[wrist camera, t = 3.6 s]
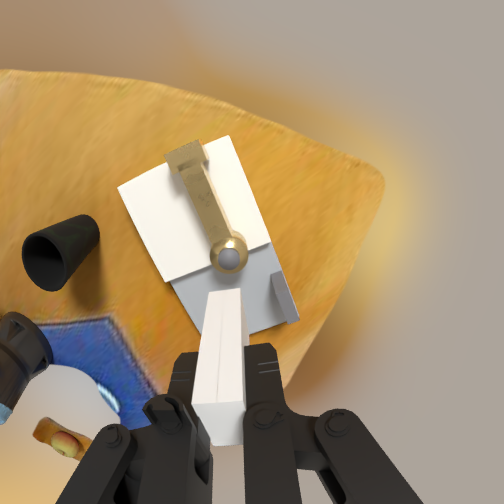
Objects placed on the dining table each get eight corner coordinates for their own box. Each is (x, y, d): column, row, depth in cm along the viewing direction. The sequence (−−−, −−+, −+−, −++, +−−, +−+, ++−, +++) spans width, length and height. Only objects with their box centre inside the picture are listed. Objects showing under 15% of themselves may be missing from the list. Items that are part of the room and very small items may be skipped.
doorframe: (210, 335, 46) (206, 374, 37) (129, 182, 36) (101, 194, 27) (295, 306, 45) (308, 341, 36) (229, 136, 35) (227, 133, 26)
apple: (77, 446, 63) (72, 464, 55) (53, 431, 60) (46, 449, 53) (84, 440, 60) (78, 459, 53) (58, 424, 58) (50, 442, 50)
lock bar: (219, 268, 36) (219, 279, 33) (168, 154, 30) (162, 155, 27) (252, 255, 36) (254, 265, 33) (203, 138, 30) (200, 138, 27)
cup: (108, 214, 37) (68, 242, 26) (103, 260, 40) (67, 299, 29) (67, 202, 36) (20, 226, 25) (64, 247, 38) (22, 280, 27)
